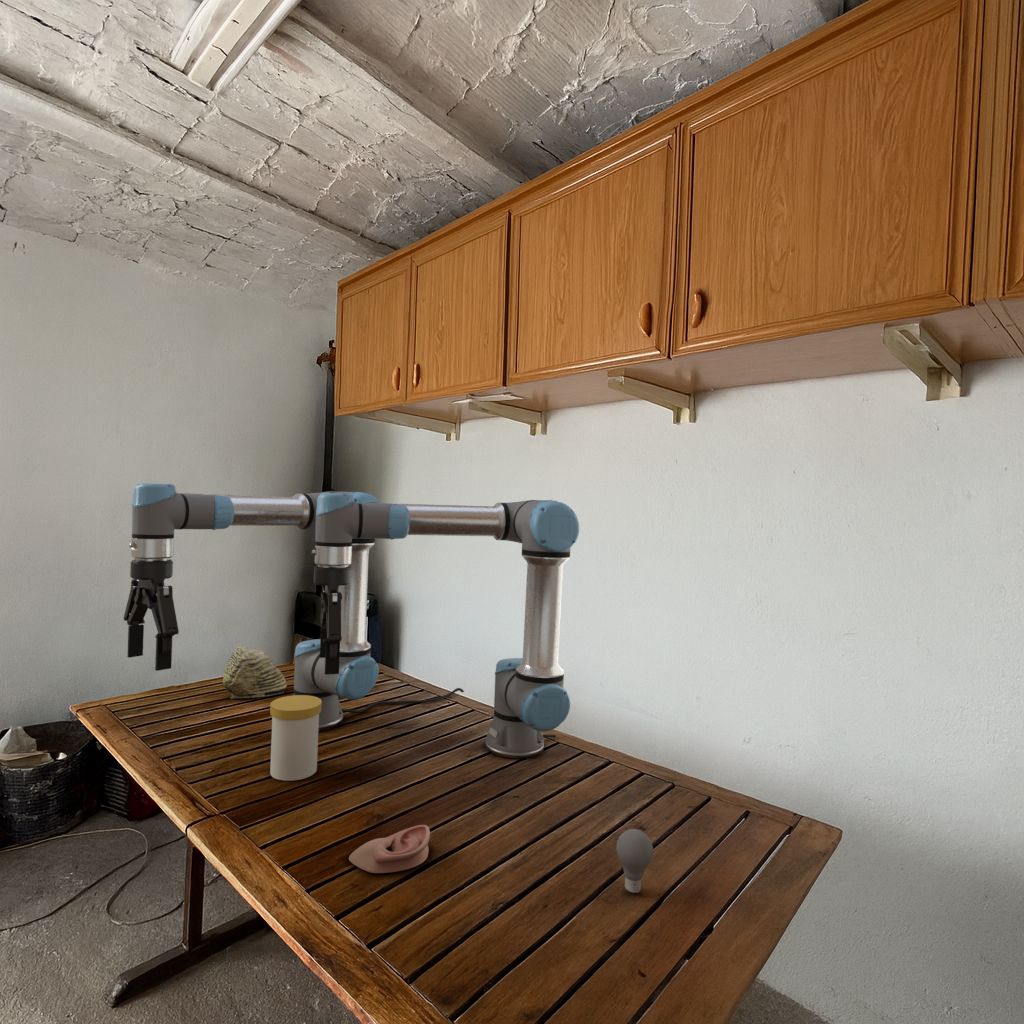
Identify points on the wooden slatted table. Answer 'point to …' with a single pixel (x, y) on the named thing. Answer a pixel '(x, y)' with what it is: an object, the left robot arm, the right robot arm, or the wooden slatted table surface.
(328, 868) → the wooden slatted table surface
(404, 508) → the right robot arm
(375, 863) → the anatomical model
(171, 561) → the left robot arm
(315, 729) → the jar
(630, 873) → the light bulb
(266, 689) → the fossil
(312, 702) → the lid
